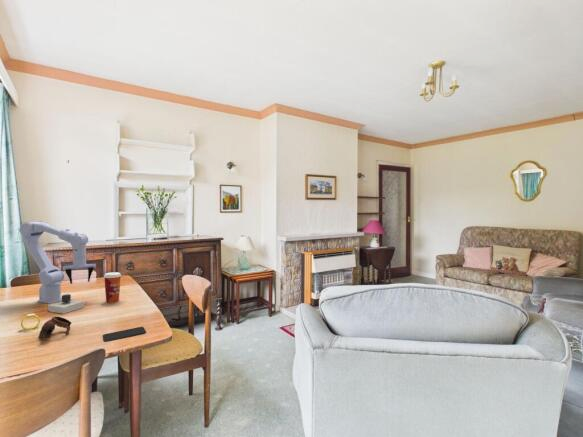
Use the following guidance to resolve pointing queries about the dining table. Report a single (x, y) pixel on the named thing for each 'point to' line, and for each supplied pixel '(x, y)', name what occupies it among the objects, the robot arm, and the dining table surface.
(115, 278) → the coffee cup
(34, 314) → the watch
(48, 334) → the brown curved piece
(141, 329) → the phone
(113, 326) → the dining table surface
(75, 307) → the block
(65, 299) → the plunger
